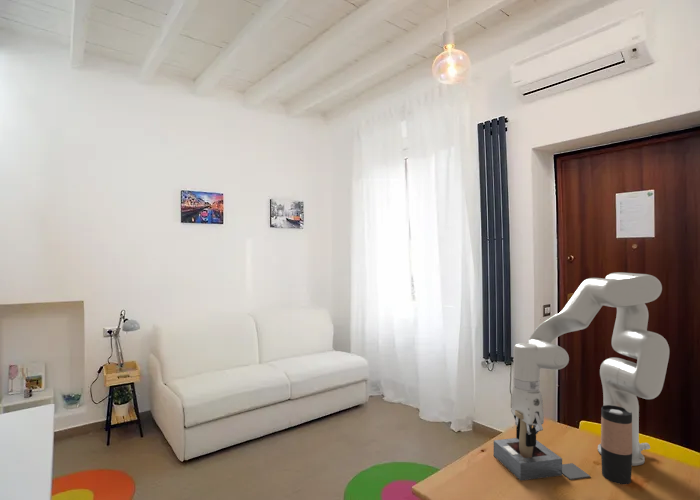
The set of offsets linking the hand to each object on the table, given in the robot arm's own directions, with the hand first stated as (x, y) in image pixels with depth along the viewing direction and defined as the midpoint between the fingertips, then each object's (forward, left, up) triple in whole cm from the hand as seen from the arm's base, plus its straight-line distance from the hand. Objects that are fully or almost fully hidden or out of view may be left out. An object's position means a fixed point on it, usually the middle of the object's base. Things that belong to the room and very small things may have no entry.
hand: (526, 441), depth 121 cm
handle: (0, 0, -6) cm, 6 cm away
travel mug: (-22, +11, -8) cm, 26 cm away
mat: (-11, +6, -7) cm, 15 cm away
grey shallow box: (0, 0, -7) cm, 7 cm away
